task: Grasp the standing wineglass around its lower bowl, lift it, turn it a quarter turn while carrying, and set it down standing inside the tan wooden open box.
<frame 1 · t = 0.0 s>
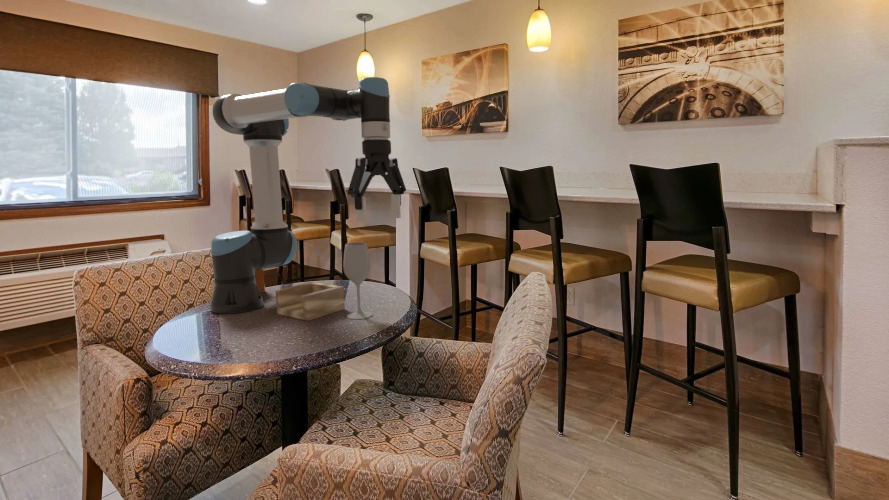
hand: (379, 220, 135), 28 cm above the table, fingers open, 13 cm apart
alarm clock: (244, 295, 173), on the table
wineglass: (359, 316, 144), on the table
tan wooden open box: (311, 311, 150), on the table
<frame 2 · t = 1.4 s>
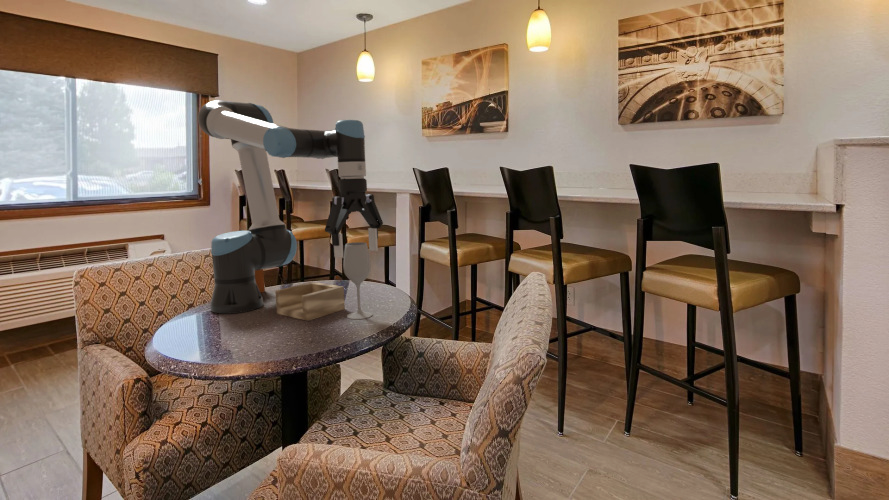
hand: (357, 254, 141), 18 cm above the table, fingers open, 13 cm apart
nothing on the table moved.
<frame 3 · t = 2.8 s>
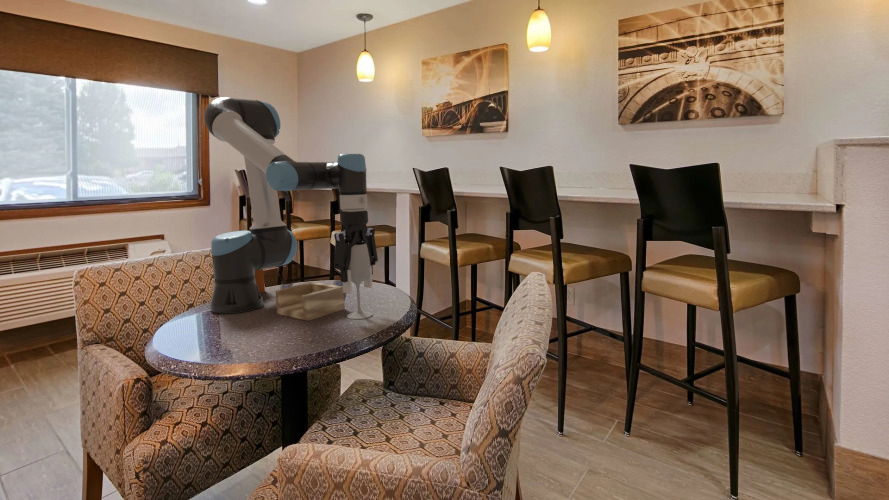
hand: (358, 289, 143), 8 cm above the table, fingers closed on wineglass, 8 cm apart
wineglass: (359, 316, 144), on the table, touching gripper
everything else where it was.
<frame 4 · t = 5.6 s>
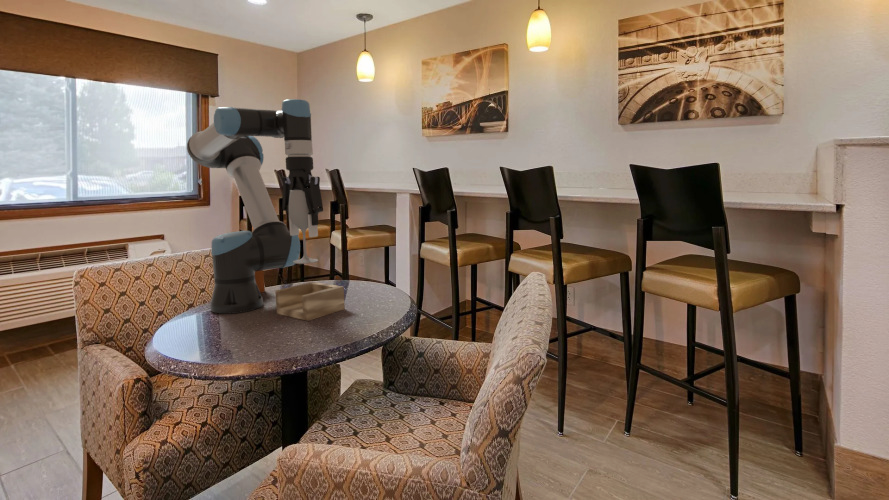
hand: (303, 235, 146), 23 cm above the table, fingers closed on wineglass, 8 cm apart
wineglass: (305, 262, 147), point 15 cm above the table, touching gripper
everything else where it was.
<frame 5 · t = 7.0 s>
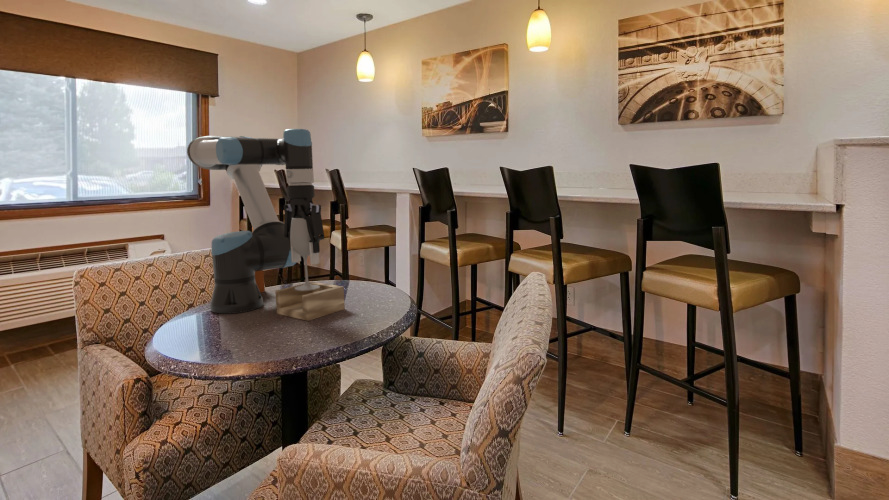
hand: (305, 262, 147), 15 cm above the table, fingers closed on wineglass, 8 cm apart
wineglass: (307, 288, 148), point 7 cm above the table, touching gripper
everything else where it was.
when the fingers open (11 cm above the table, at t = 8.2 s): wineglass drops 1 cm, resting on tan wooden open box.
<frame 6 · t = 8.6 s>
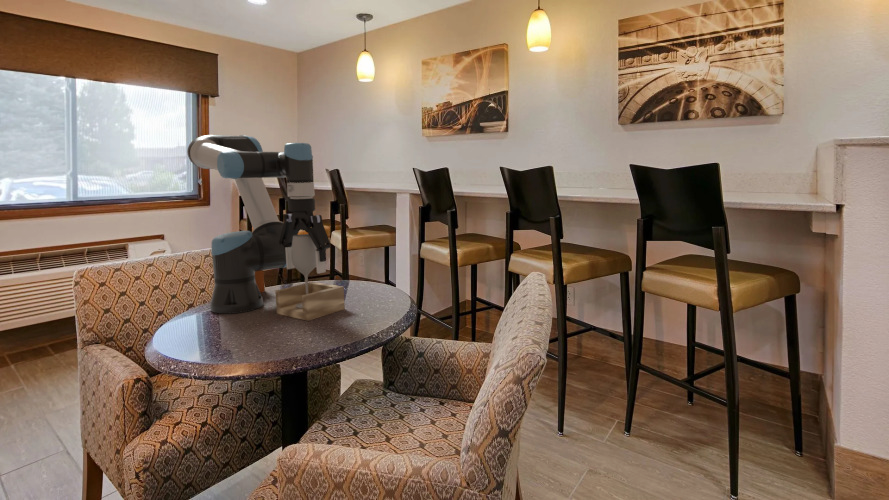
hand: (305, 270, 147), 13 cm above the table, fingers open, 13 cm apart
wineglass: (308, 306, 149), point 2 cm above the table, touching tan wooden open box
everything else where it was.
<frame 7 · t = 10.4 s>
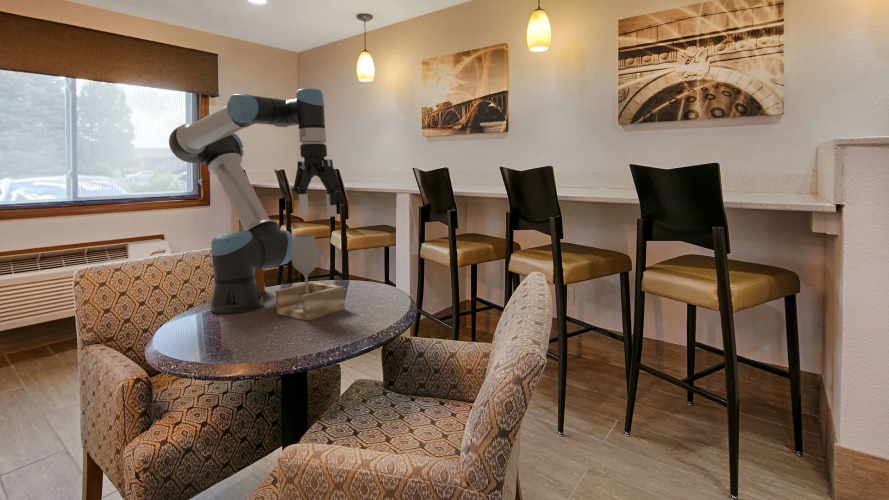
hand: (318, 216, 150), 28 cm above the table, fingers open, 13 cm apart
nothing on the table moved.
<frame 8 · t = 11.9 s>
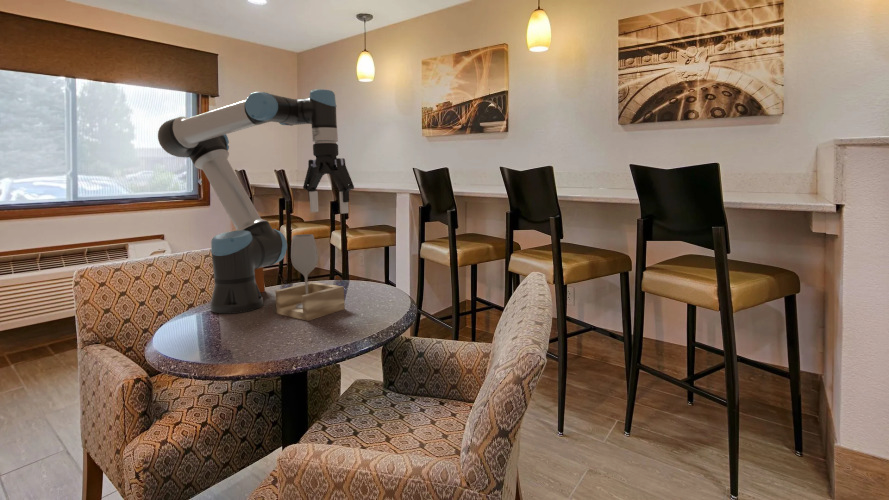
hand: (329, 212, 156), 29 cm above the table, fingers open, 13 cm apart
nothing on the table moved.
at the end: wineglass inside the target area on the tan wooden open box (0.1 cm from its centre), point 1.8 cm above the tan wooden open box's base; wineglass tilted 0°; the gripper is holding nothing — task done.
